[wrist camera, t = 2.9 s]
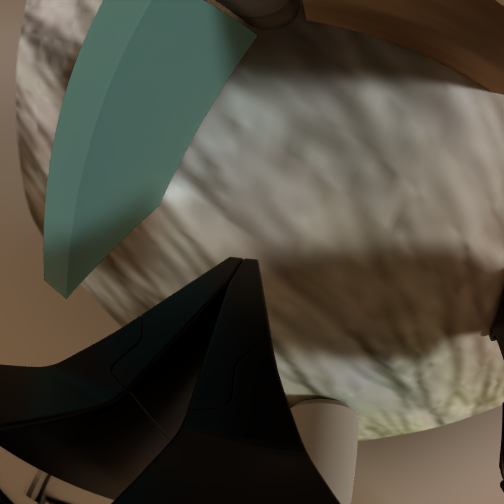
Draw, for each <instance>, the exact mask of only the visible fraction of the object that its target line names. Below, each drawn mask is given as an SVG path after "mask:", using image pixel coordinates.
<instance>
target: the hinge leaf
mask: <svg viewBox="0 0 504 504" xmlns="http://www.w3.org/2000/svg"><path fill="white" fill-rule="evenodd" d="M216 1H217V2H219V3H220V4H222V5H223V6H225V7H226V8H227V9H229V10H230V11H232V12H234V13H236V14H238V15H242V16H246V17H261V16H266V15H269V14H272V13H274V12H277V11H278V10H280V9H281V8H283V7H284V6H285V5H286V4H287V3H288V2H289V0H216ZM257 36H258V35H256V34H255V33H253V32H252V31H251V30H249V29H248V28H246V27H245V26H244V25H242V24H241V23H239V22H238V21H236V20H235V19H233V18H232V17H230V16H229V15H227V14H226V13H224V12H223V11H221V10H219V9H218V8H216V7H214V6H213V5H211V4H210V3H208V2H206V1H204V0H103V2H102V4H101V6H100V8H99V10H98V12H97V14H96V16H95V18H94V20H93V22H92V24H91V26H90V28H89V31H88V33H87V35H86V37H85V40H84V42H83V45H82V47H81V50H80V52H79V55H78V57H77V60H76V63H75V65H74V68H73V71H72V74H71V77H70V80H69V83H68V87H67V90H66V93H65V97H64V100H63V104H62V108H61V111H60V115H59V120H58V124H57V128H56V133H55V138H54V143H53V148H52V154H51V160H50V167H49V174H48V182H47V191H46V202H45V216H44V280H45V281H46V282H47V283H49V285H51V286H52V287H53V288H54V289H55V290H56V291H58V292H59V293H60V294H61V295H62V296H63V297H65V298H66V299H67V298H68V297H69V295H70V294H71V293H72V292H73V291H74V290H75V289H76V288H77V286H78V285H79V284H80V283H81V282H82V281H83V280H84V279H85V278H86V277H87V276H88V275H89V273H90V272H91V271H92V270H93V269H94V268H95V267H96V266H97V265H98V264H99V263H100V262H101V261H102V260H103V259H104V258H105V257H106V256H107V255H108V254H109V253H110V252H111V251H112V250H113V249H114V248H115V247H116V246H117V245H118V244H119V243H120V242H121V241H122V240H123V239H124V238H125V237H126V236H127V235H128V234H129V233H130V232H131V231H132V230H133V229H134V228H135V227H136V226H138V225H139V224H140V223H141V222H142V221H143V220H144V219H145V218H146V217H147V216H148V215H149V214H150V213H152V212H153V211H154V210H155V209H156V208H157V207H158V206H159V204H160V202H161V200H162V198H163V196H164V194H165V192H166V189H167V187H168V185H169V183H170V181H171V179H172V177H173V175H174V173H175V171H176V169H177V167H178V165H179V163H180V161H181V159H182V157H183V156H184V154H185V152H186V150H187V148H188V146H189V144H190V142H191V141H192V139H193V137H194V135H195V133H196V132H197V130H198V128H199V126H200V124H201V123H202V121H203V119H204V117H205V116H206V114H207V112H208V111H209V109H210V107H211V106H212V104H213V102H214V101H215V99H216V97H217V96H218V94H219V92H220V91H221V89H222V88H223V86H224V84H225V83H226V81H227V80H228V78H229V77H230V75H231V74H232V72H233V71H234V69H235V68H236V66H237V65H238V63H239V62H240V60H241V59H242V57H243V56H244V54H245V53H246V51H247V50H248V49H249V47H250V46H251V44H252V43H253V42H254V40H255V39H256V37H257Z"/></svg>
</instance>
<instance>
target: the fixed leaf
mask: <svg viewBox="0 0 504 504" xmlns="http://www.w3.org/2000/svg"><path fill="white" fill-rule="evenodd" d="M302 2H303V6H304V10H305V15H306V19H307V21H312V22H318V23H323V24H328V25H332V26H337V27H341V28H345V29H349V30H353V31H356V32H360V33H363V34H367V35H370V36H373V37H377V38H380V39H383V40H386V41H388V42H391V43H394V44H397V45H400V46H402V47H405V48H407V49H410V50H412V51H415V52H417V53H420V54H422V55H424V56H426V57H429V58H431V59H433V60H435V61H437V62H439V63H442V64H444V65H446V66H448V67H450V68H451V69H453V70H455V71H457V72H459V73H461V74H463V75H465V76H466V77H468V78H470V79H472V80H473V81H475V82H477V83H478V84H480V85H482V86H483V87H485V88H486V89H488V90H490V91H491V92H493V93H499V94H503V95H504V0H302ZM298 9H299V0H289V2H288V3H287V4H286V5H285V6H284V7H283V8H281V9H280V10H278V11H277V12H274V13H272V14H269V15H266V16H261V17H246V16H242V15H238V14H236V13H234V12H233V13H234V14H236V15H237V16H238V17H240V18H241V19H242V20H244V21H245V22H246V23H248V24H249V25H251V26H254V27H256V28H261V29H274V28H278V27H281V26H284V25H286V24H287V23H289V22H290V21H291V20H292V19H293V18H294V17H295V16H296V14H297V12H298Z"/></svg>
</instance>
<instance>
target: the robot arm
mask: <svg viewBox="0 0 504 504" xmlns="http://www.w3.org/2000/svg"><path fill="white" fill-rule="evenodd" d="M489 337H490V339H491V341H495V340H497V342H498V345H499V348H500V350H501V353H502V356H503V359H504V290H503V294H502V297H501V301H500V304H499V307H498V310H497V314H496V317H495V320H494V322H493V325H492V328H491V331H490V334H489ZM502 406H503V414H502V416H503V417H502V438H501V439H502V440H501V451H500V462H499V468H500V470H501V475H502V478H503V481H501V483H500V486H501V488H502V490H503V492H504V402H503V404H502ZM0 504H341V503H340V502H339V501H338V499H337V498H336V496H335V495H334V493H333V492H332V490H331V489H330V487H329V486H328V484H327V483H326V481H325V480H324V478H323V477H322V475H321V474H320V472H319V471H318V469H317V468H316V466H315V465H314V463H313V461H312V460H311V458H310V456H309V454H308V452H307V450H306V448H305V446H304V443H303V441H302V439H301V436H300V433H299V431H298V428H297V425H296V423H295V420H294V417H293V414H292V411H291V409H290V406H289V403H288V400H287V398H286V395H285V392H284V389H283V386H282V383H281V379H280V376H279V373H278V369H277V365H276V360H275V355H274V350H273V344H272V339H271V333H270V327H269V321H268V315H267V309H266V303H265V297H264V291H263V285H262V279H261V273H260V267H259V262H258V260H256V259H244V260H243V259H242V258H236V257H229V258H227V259H226V260H224V261H223V262H221V263H220V264H218V265H217V266H215V267H214V268H212V269H210V270H209V271H207V272H206V273H204V274H203V275H201V276H200V277H198V278H197V279H195V280H194V281H192V282H191V283H189V284H188V285H186V286H185V287H183V288H182V289H180V290H179V291H177V292H176V293H174V294H172V295H171V296H169V297H168V298H166V299H165V300H163V301H162V302H160V303H159V304H157V305H156V306H154V307H153V308H151V309H150V310H148V311H147V312H145V313H144V314H142V317H141V316H139V317H138V318H136V319H135V320H133V321H132V322H130V323H129V324H127V325H125V326H124V327H122V328H121V329H119V330H117V331H116V332H115V333H113V334H111V335H109V336H107V337H106V338H104V339H102V340H100V341H99V342H97V343H95V344H93V345H91V346H90V347H88V348H86V349H84V350H82V351H80V352H78V353H76V354H75V355H73V356H71V357H69V358H67V359H66V360H63V361H61V362H60V363H57V364H54V365H50V366H46V367H26V366H25V367H24V366H12V365H0Z"/></svg>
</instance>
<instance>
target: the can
mask: <svg viewBox="0 0 504 504" xmlns="http://www.w3.org/2000/svg"><path fill="white" fill-rule="evenodd" d="M290 409H291V411H292V414H293V417H294V420H295V423H296V425H297V428H298V431H299V433H300V436H301V439H302V441H303V443H304V446H305V448H306V450H307V452H308V454H309V456H310V458H311V460H312V461H313V463H314V465H315V466H316V468H317V469H318V471H319V472H320V474H321V475H322V477H323V478H324V480H325V481H326V483H327V484H328V486H329V487H330V489H331V490H332V492H333V493H334V495H335V496H336V498H337V499H338V501H339V502H340V503H341V504H351V498H352V491H353V483H354V475H355V465H356V455H357V454H356V453H357V442H358V425H359V416H358V413H357V412H355V411H354V410H353V409H352V408H351V407H350V406H348V405H347V404H346V403H343V402H341V401H337V400H332V399H310V400H306V401H302V402H300V403H297V404H296V405H295V406H293V407H291V408H290Z"/></svg>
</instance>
